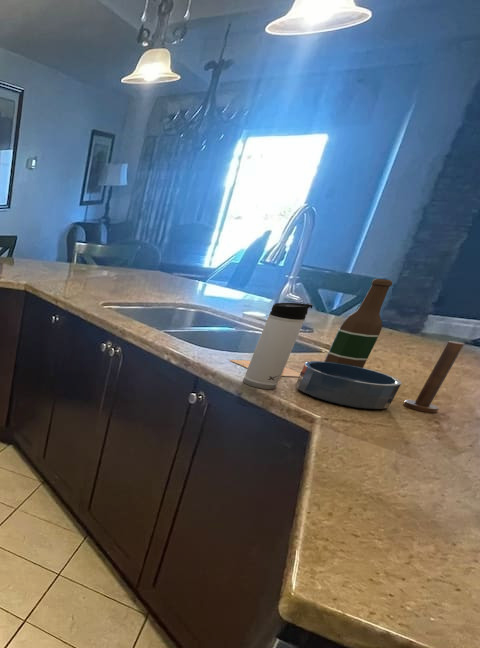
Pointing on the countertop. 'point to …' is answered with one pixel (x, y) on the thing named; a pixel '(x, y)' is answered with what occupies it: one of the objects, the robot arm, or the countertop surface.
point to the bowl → (348, 385)
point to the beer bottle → (360, 328)
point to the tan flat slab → (285, 373)
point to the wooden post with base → (435, 379)
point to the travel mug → (275, 344)
